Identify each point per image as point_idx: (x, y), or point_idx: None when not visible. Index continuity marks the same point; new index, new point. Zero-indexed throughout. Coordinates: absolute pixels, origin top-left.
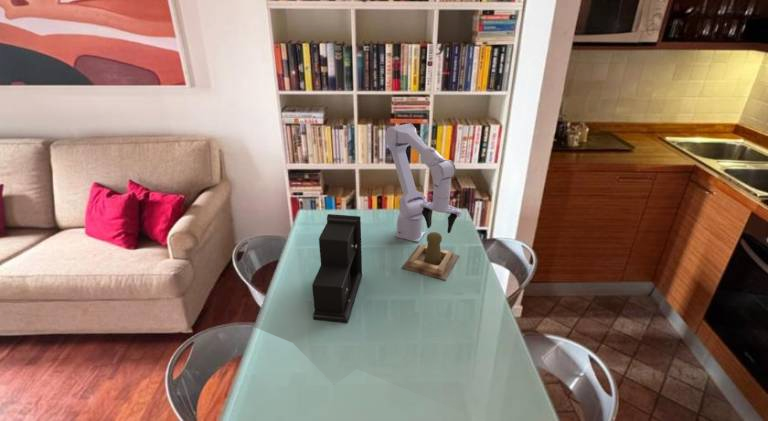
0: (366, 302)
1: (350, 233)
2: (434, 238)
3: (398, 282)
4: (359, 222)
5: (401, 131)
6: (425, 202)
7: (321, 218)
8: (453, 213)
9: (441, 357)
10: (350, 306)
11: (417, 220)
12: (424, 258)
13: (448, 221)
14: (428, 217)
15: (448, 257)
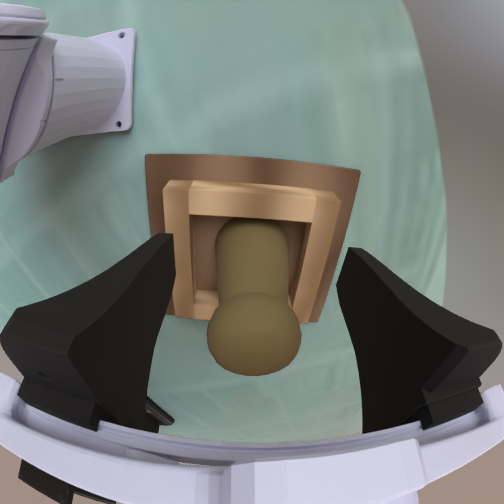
0: (169, 397)
1: (96, 499)
2: (263, 374)
3: (191, 355)
4: (71, 495)
5: None
6: (3, 439)
7: None
8: (434, 434)
9: (320, 422)
10: (158, 414)
11: (44, 131)
12: (213, 245)
13: (365, 401)
14: (146, 375)
15: (323, 248)
